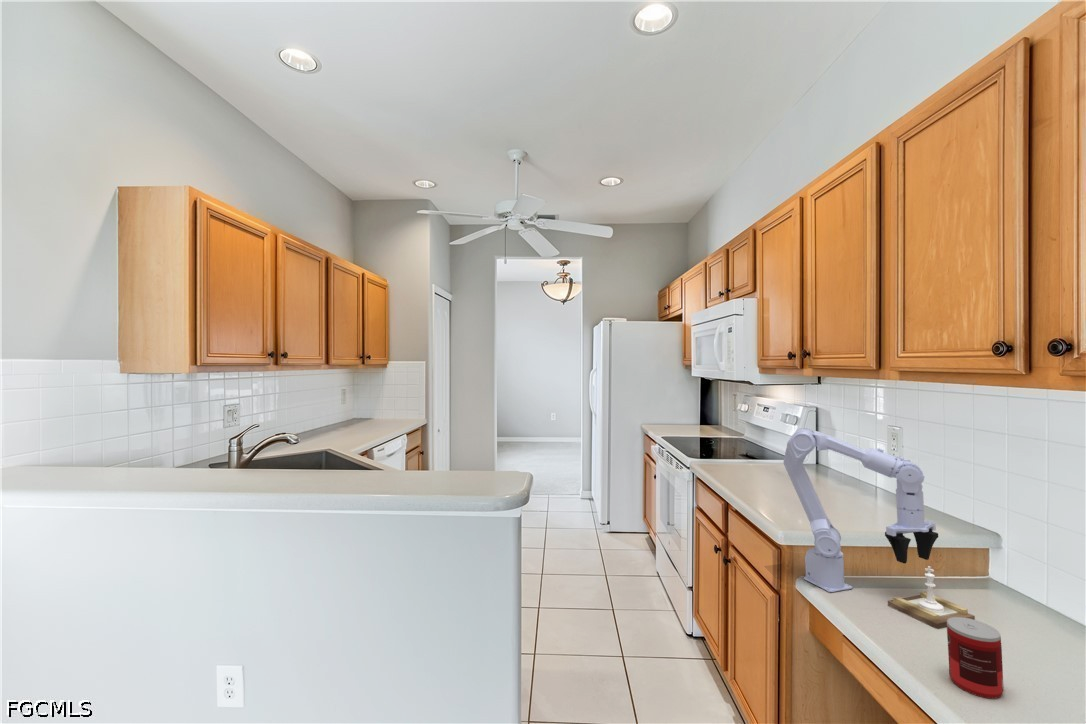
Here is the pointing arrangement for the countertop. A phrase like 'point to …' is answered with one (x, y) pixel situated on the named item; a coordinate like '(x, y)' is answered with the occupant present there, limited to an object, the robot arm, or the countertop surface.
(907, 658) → the countertop surface
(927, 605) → the chess piece
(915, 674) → the countertop surface
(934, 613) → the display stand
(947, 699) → the countertop surface
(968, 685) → the canned food
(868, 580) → the countertop surface
